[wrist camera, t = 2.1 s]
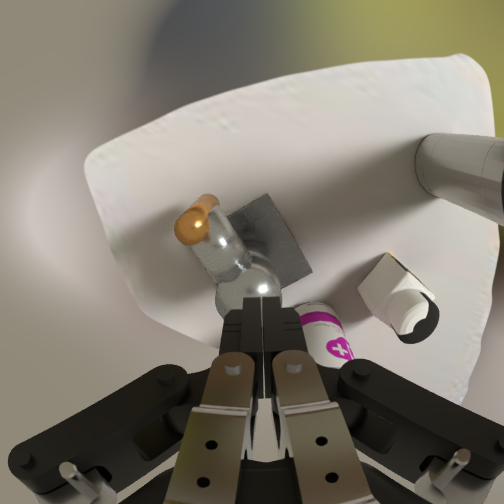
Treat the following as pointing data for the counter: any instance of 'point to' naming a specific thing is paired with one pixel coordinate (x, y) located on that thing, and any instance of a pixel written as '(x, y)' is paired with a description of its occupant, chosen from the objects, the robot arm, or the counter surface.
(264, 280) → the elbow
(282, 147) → the counter surface
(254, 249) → the grey stand with base
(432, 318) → the medicine bottle
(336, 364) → the supplement can
